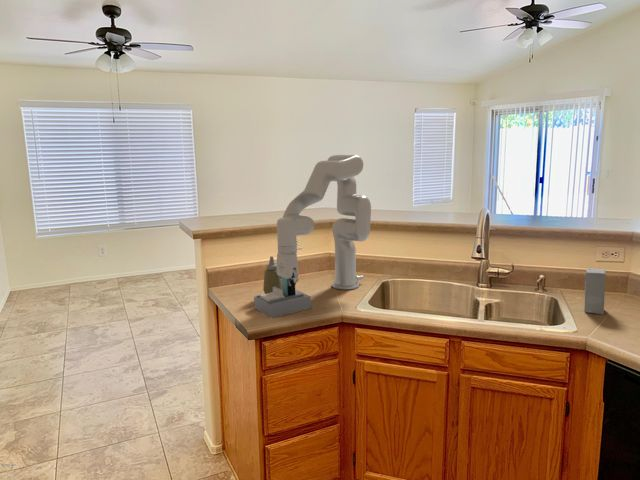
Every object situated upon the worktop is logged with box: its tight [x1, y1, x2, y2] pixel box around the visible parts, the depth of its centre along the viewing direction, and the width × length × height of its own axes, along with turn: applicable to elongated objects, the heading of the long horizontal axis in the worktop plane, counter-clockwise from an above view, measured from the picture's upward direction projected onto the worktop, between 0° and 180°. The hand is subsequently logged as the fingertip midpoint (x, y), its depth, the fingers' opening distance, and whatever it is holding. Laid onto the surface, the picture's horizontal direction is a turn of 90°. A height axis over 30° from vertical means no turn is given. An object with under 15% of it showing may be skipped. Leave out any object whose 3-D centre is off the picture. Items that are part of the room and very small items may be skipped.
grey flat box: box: [253, 289, 312, 319], centre depth 186 cm, size 18×14×6 cm
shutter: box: [259, 287, 285, 301], centre depth 183 cm, size 7×7×3 cm
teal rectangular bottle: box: [281, 276, 294, 297], centre depth 187 cm, size 4×4×12 cm
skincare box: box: [584, 268, 607, 315], centre depth 177 cm, size 8×7×16 cm
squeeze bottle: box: [263, 256, 282, 294], centre depth 199 cm, size 8×8×18 cm
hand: (288, 293), depth 187 cm, fingers closed on teal rectangular bottle, 3 cm apart
